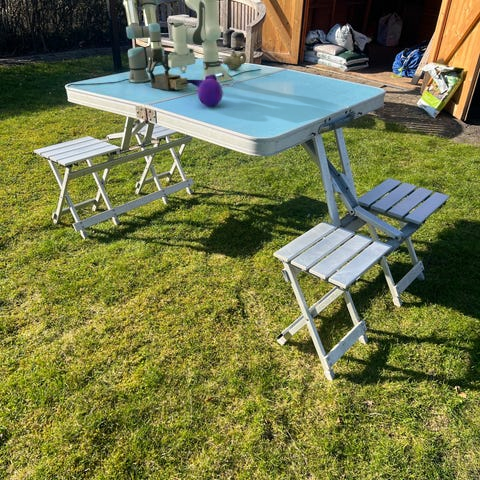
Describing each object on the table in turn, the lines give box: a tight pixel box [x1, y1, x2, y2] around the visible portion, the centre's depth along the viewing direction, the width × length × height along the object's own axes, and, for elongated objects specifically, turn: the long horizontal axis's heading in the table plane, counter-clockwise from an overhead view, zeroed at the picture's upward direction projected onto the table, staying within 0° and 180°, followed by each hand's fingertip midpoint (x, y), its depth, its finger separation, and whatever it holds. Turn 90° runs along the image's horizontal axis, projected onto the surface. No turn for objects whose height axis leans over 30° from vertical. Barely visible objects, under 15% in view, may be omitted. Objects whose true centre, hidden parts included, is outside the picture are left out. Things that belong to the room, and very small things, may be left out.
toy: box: [186, 75, 224, 107], centre depth 270 cm, size 16×18×27 cm
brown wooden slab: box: [150, 72, 182, 91], centre depth 314 cm, size 20×11×8 cm, turn 44°
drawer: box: [169, 77, 190, 90], centre depth 307 cm, size 24×10×6 cm, turn 44°
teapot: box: [222, 50, 247, 71], centre depth 368 cm, size 21×12×15 cm, turn 120°
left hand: (160, 81), depth 319 cm, fingers closed on brown wooden slab, 11 cm apart
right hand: (183, 73), depth 298 cm, fingers closed
